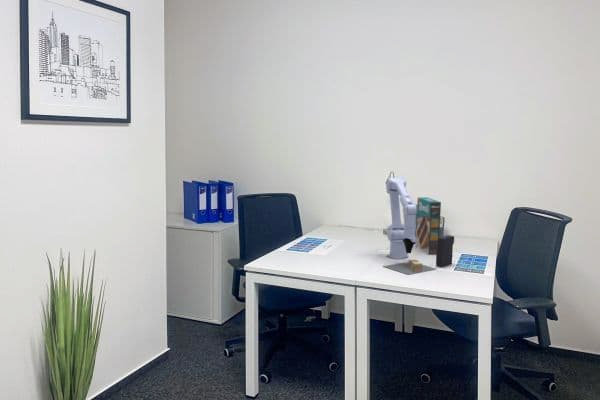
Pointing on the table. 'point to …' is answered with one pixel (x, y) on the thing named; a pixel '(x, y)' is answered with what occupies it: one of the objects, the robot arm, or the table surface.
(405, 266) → the mat
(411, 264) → the maple block
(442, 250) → the small drawer cabinet
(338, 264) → the table surface
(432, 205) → the cake mix box
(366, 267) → the table surface
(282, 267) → the table surface
